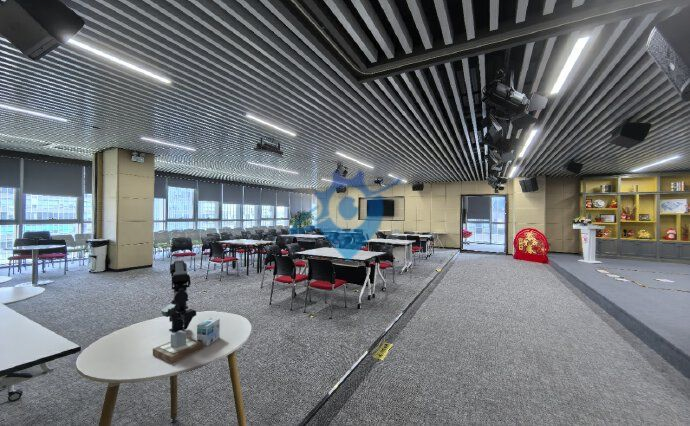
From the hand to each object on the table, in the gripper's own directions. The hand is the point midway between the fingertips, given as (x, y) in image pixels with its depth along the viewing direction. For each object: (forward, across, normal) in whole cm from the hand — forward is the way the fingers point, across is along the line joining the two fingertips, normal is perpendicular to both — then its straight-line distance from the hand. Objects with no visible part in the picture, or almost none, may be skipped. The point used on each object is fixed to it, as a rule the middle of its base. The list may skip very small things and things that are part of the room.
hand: (179, 327), depth 143 cm
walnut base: (+12, +1, -1) cm, 12 cm away
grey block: (+8, +1, -1) cm, 8 cm away
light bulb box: (+12, +4, +14) cm, 19 cm away
